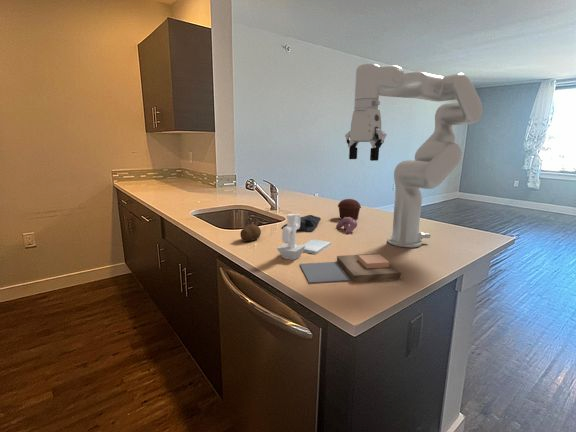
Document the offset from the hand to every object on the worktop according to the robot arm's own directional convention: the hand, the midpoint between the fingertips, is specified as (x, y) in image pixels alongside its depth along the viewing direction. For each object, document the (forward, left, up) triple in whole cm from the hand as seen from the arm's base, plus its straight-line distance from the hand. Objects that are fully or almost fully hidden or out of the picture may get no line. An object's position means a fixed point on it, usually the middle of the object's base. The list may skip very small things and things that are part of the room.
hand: (363, 159), depth 108 cm
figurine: (+25, +2, -33) cm, 41 cm away
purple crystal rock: (-5, -28, -33) cm, 43 cm away
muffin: (-13, -49, -33) cm, 60 cm away
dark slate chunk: (+12, -39, -33) cm, 53 cm away
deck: (+4, +17, -32) cm, 37 cm away
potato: (+38, -20, -33) cm, 54 cm away
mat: (+17, +17, -32) cm, 40 cm away
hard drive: (+15, -7, -33) cm, 37 cm away
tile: (+2, +17, -30) cm, 35 cm away
